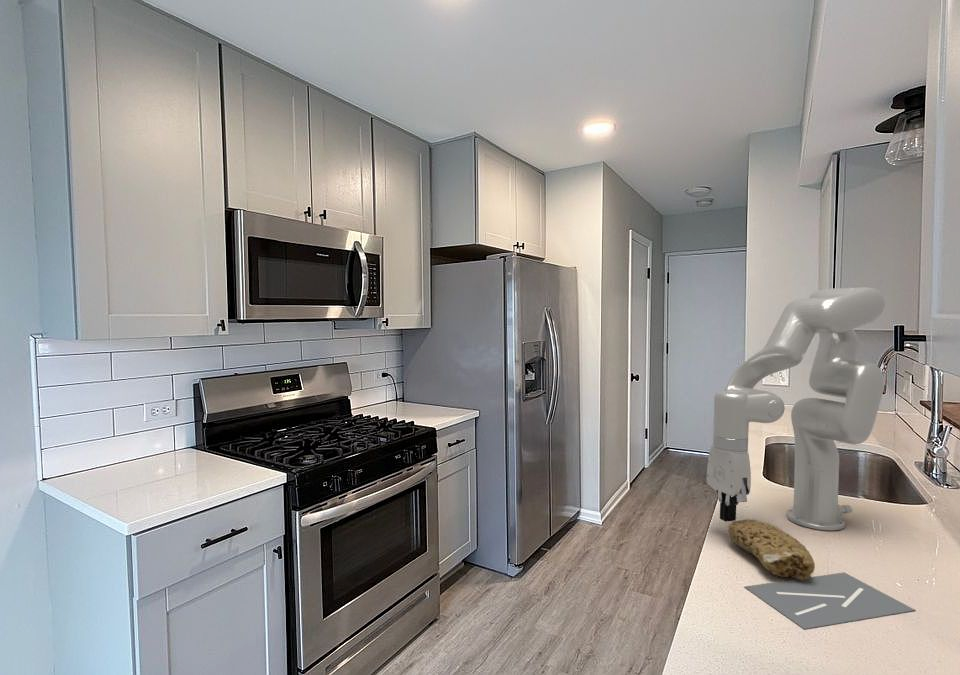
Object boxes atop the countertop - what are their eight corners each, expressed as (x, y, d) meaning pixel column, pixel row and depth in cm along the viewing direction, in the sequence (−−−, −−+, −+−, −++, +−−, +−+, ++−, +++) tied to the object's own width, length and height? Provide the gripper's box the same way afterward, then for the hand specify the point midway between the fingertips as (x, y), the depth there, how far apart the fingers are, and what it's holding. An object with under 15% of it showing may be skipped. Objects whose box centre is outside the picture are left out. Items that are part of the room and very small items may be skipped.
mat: (844, 573, 107) (844, 572, 107) (915, 610, 93) (915, 609, 93) (744, 587, 101) (744, 586, 101) (804, 629, 88) (804, 628, 88)
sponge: (823, 590, 102) (785, 529, 121) (819, 555, 101) (781, 499, 120) (751, 594, 105) (725, 534, 124) (746, 560, 104) (720, 505, 123)
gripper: (696, 437, 130) (694, 509, 130) (739, 452, 115) (736, 534, 116) (722, 435, 131) (720, 507, 132) (767, 450, 117) (764, 531, 117)
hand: (727, 519), depth 124 cm, fingers closed
